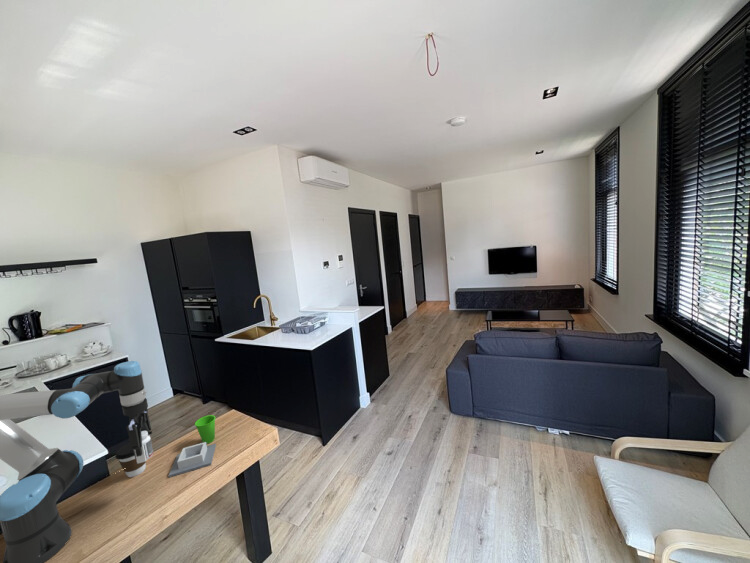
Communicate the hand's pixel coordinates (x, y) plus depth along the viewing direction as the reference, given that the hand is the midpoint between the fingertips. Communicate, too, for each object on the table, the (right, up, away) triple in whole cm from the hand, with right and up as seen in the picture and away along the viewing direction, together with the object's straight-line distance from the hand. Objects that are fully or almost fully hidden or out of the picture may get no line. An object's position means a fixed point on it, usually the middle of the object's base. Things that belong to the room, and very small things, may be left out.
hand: (145, 456), depth 118 cm
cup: (+8, -10, +31) cm, 34 cm away
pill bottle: (0, -1, 0) cm, 1 cm away
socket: (+9, -12, +17) cm, 23 cm away
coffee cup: (-14, -15, +14) cm, 25 cm away
